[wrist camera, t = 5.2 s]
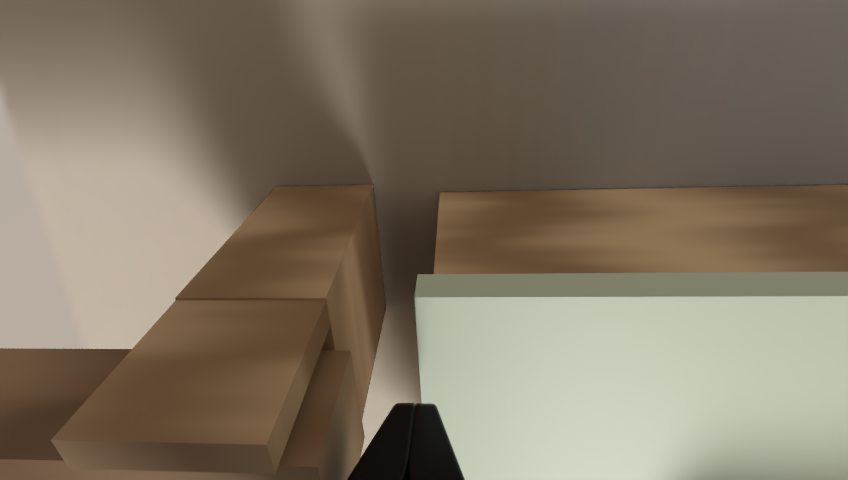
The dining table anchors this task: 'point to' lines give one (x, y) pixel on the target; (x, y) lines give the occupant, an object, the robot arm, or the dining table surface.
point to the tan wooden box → (365, 304)
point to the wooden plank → (50, 476)
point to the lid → (638, 374)
